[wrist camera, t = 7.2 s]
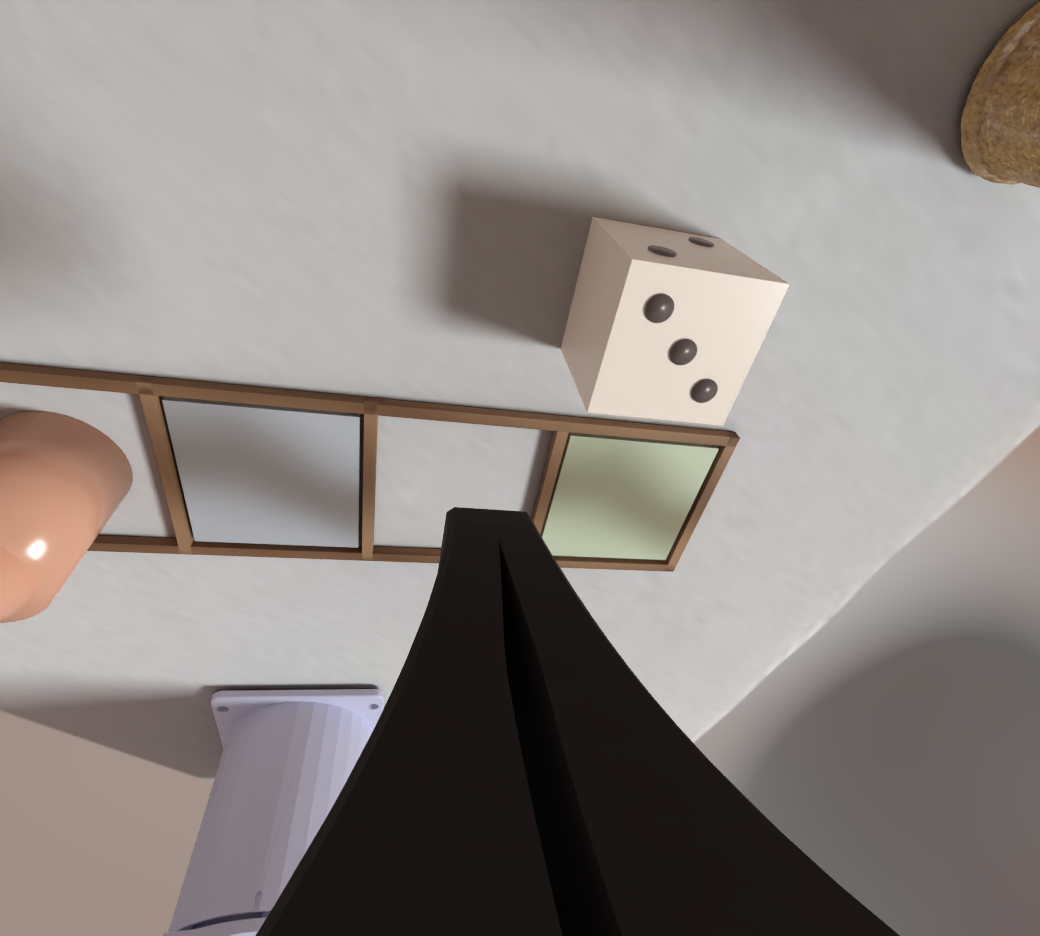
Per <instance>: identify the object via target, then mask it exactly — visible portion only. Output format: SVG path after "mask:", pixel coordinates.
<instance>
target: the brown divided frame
mask: <svg viewBox="0 0 1040 936" xmlns="http://www.w3.org/2000/svg"><path fill="white" fill-rule="evenodd" d="M0 382H8V383H19V384H30V385H42V386H53V387H64V388H76V389H87V390H98V391H110V392H121V393H132V394H139V396H140V400H141V404H142V408H143V411H144V415H145V419H146V423H147V427H148V431H149V435H150V438H151V442H152V446H153V450H154V454H155V458H156V462H157V465H158V469H159V473H160V477H161V481H162V485H163V489H164V492H165V496H166V500H167V504H168V508H169V512H170V516H171V519H172V523H173V527H174V531H175V535H176V538H155V537H130V536H106V535H98V536H97V537H96V539H95V540H94V541H93V543H92V544H91V546H90V547H89V549H88V550H87V551H111V552H139V553H167V554H195V555H223V556H251V557H279V558H307V559H336V560H364V561H392V562H420V563H439V561H440V554H441V549H424V548H400V547H375V546H373V543H374V513H375V483H376V452H377V422H378V415H381V416H392V417H403V418H414V419H426V420H437V421H448V422H460V423H471V424H482V425H493V426H505V427H516V428H527V429H539V430H550V431H554V434H553V437H552V441H551V445H550V449H549V453H548V457H547V461H546V465H545V468H544V472H543V476H542V480H541V484H540V488H539V492H538V495H537V499H536V503H535V507H534V511H533V515H532V521H533V522H534V524H535V526H536V528H537V529H538V531H539V533H540V534H541V537H542V538H543V540H544V542H545V544H546V545H547V547H548V549H549V550H550V552H551V554H552V555H553V557H554V559H555V560H556V562H557V564H558V565H559V567H560V568H588V569H617V570H645V571H674V569H675V567H676V565H677V563H678V561H679V559H680V557H681V555H682V553H683V551H684V549H685V547H686V545H687V543H688V541H689V539H690V537H691V535H692V533H693V531H694V529H695V527H696V525H697V523H698V521H699V519H700V517H701V515H702V513H703V511H704V509H705V507H706V505H707V503H708V501H709V499H710V497H711V495H712V493H713V491H714V489H715V487H716V485H717V483H718V481H719V479H720V477H721V475H722V473H723V471H724V469H725V467H726V465H727V463H728V461H729V459H730V457H731V455H732V453H733V451H734V449H735V447H736V445H737V443H738V441H739V439H740V437H739V436H738V435H737V434H736V432H729V431H718V430H708V429H697V428H687V427H676V426H666V425H655V424H644V423H634V422H623V421H613V420H602V419H592V418H581V417H571V416H560V415H549V414H539V413H528V412H518V411H507V410H497V409H486V408H476V407H465V406H454V405H444V404H433V403H423V402H412V401H402V400H391V399H381V398H370V397H360V396H349V395H338V394H328V393H317V392H307V391H296V390H286V389H275V388H265V387H254V386H243V385H233V384H222V383H212V382H201V381H191V380H180V379H170V378H159V377H148V376H138V375H127V374H117V373H106V372H96V371H85V370H75V369H64V368H53V367H43V366H32V365H22V364H11V363H1V362H0ZM161 396H165V397H164V398H163V400H162V399H161ZM162 402H163V403H162ZM163 406H164V407H163ZM164 410H165V411H164ZM361 414H364V454H363V517H362V546H359V510H360V423H361ZM165 415H166V416H165ZM166 419H167V420H166ZM167 423H168V424H167ZM168 427H169V429H168ZM169 432H170V433H169ZM568 433H569V434H568ZM170 436H171V437H170ZM567 437H568V438H567ZM171 440H172V441H171ZM566 440H567V441H566ZM565 444H566V445H565ZM172 445H173V446H172ZM717 445H719V446H717ZM173 449H174V450H173ZM563 451H564V452H563ZM174 453H175V454H174ZM562 455H563V456H562ZM175 457H176V459H175ZM561 458H562V459H561ZM176 462H177V463H176ZM560 462H561V463H560ZM559 465H560V466H559ZM177 466H178V467H177ZM558 469H559V470H558ZM178 470H179V472H178ZM557 473H558V474H557ZM179 475H180V476H179ZM556 476H557V477H556ZM180 479H181V480H180ZM555 480H556V481H555ZM181 483H182V484H181ZM554 483H555V484H554ZM553 487H554V488H553ZM182 488H183V489H182ZM552 491H553V492H552ZM183 492H184V493H183ZM551 494H552V495H551ZM184 496H185V497H184ZM550 498H551V499H550ZM185 500H186V502H185ZM549 501H550V502H549ZM186 505H187V506H186ZM548 505H549V506H548ZM187 509H188V510H187ZM546 512H547V513H546ZM188 513H189V514H188ZM545 516H546V517H545ZM189 518H190V519H189ZM544 519H545V520H544ZM190 522H191V523H190ZM543 523H544V524H543ZM191 526H192V527H191ZM541 530H542V531H541ZM192 531H193V532H192ZM193 535H194V536H193Z"/></svg>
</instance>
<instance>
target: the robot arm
mask: <svg viewBox="0 0 1040 936" xmlns="http://www.w3.org/2000/svg"><path fill="white" fill-rule="evenodd" d="M210 703H211V707H212V711H213V714H214V718H215V721H216V725H217V729H218V732H219V736H220V740H221V743H222V747H223V754H222V757H221V760H220V763H219V767H218V770H217V773H216V777H215V780H214V783H213V787H212V790H211V793H210V796H209V800H208V803H207V806H206V809H205V813H204V816H203V819H202V823H201V826H200V829H199V832H198V836H197V839H196V842H195V846H194V849H193V852H192V855H191V859H190V862H189V865H188V869H187V872H186V875H185V879H184V882H183V885H182V888H181V892H180V895H179V898H178V902H177V905H176V908H175V911H174V915H173V918H172V921H171V924H170V928H169V931H168V932H166V933H164V935H163V936H899V935H898V934H897V933H896V932H895V931H894V930H892V929H891V928H890V927H889V926H887V925H886V924H885V923H884V922H883V921H882V920H880V919H879V918H878V917H877V916H876V915H874V914H873V913H872V912H871V911H870V910H868V909H867V908H866V907H865V906H864V905H862V904H861V903H860V902H859V901H858V900H856V899H855V898H854V897H853V896H852V895H850V894H849V893H848V892H847V891H846V890H845V889H843V888H842V887H841V886H840V885H839V884H838V883H837V882H835V881H834V880H833V879H832V878H831V877H830V876H829V875H828V874H826V873H825V872H824V871H823V870H822V869H821V868H820V867H819V866H818V865H817V864H816V863H814V862H813V861H812V860H811V859H810V858H809V857H808V856H807V855H806V854H805V853H803V852H802V851H801V850H800V849H799V848H798V847H797V846H796V845H795V844H794V843H792V842H791V841H790V840H789V839H788V838H787V837H786V836H785V835H784V834H783V833H782V832H780V831H779V830H778V829H777V828H776V827H775V826H774V825H773V824H772V823H771V822H770V821H769V820H768V819H767V818H766V817H765V816H764V815H763V814H762V813H761V812H760V811H759V810H758V809H757V808H756V807H755V806H754V805H753V804H752V803H751V802H750V801H749V800H748V799H747V798H746V797H745V796H744V795H743V794H742V793H741V792H740V791H739V790H738V789H737V788H736V787H735V786H734V785H733V784H732V783H731V782H730V781H729V780H728V779H727V778H726V777H725V776H724V775H723V774H722V773H721V772H720V771H719V770H718V769H717V768H716V767H715V766H714V765H713V764H712V763H711V762H710V761H709V760H708V759H707V758H706V756H704V754H703V753H702V752H701V751H700V750H699V749H698V748H697V747H696V746H695V745H694V743H693V742H692V741H691V740H690V739H689V738H688V737H687V736H686V735H685V733H684V732H683V731H682V730H681V729H680V728H679V727H678V726H677V725H676V724H675V722H674V721H673V720H672V719H671V718H670V717H669V715H668V714H667V713H666V712H665V711H664V710H663V708H662V707H661V706H660V705H659V704H658V703H657V701H656V700H655V699H654V698H653V697H652V696H651V694H650V693H649V692H648V691H647V689H646V688H645V687H644V686H643V684H642V683H641V682H640V681H639V679H638V678H637V677H636V676H635V674H634V673H633V672H632V671H631V669H630V668H629V667H628V665H627V664H626V663H625V662H624V660H623V659H622V658H621V656H620V655H619V654H618V652H617V651H616V650H615V648H614V647H613V646H612V644H611V643H610V642H609V640H608V639H607V637H606V636H605V635H604V633H603V632H602V630H601V629H600V628H599V626H598V625H597V623H596V622H595V621H594V619H593V618H592V616H591V615H590V613H589V612H588V610H587V609H586V607H585V606H584V604H583V603H582V601H581V600H580V598H579V597H578V595H577V594H576V592H575V591H574V589H573V588H572V586H571V585H570V583H569V581H568V580H567V578H566V577H565V575H564V573H563V572H562V570H561V569H560V567H559V565H558V564H557V562H556V560H555V559H554V557H553V555H552V554H551V552H550V550H549V549H548V547H547V545H546V544H545V542H544V540H543V538H542V537H541V535H540V533H539V531H538V529H537V528H536V526H535V524H534V522H533V521H532V519H531V517H530V516H529V515H528V514H527V512H521V511H505V510H489V509H473V508H457V507H454V508H453V509H451V510H449V511H448V512H447V514H446V521H445V527H444V534H443V541H442V548H441V554H440V561H439V568H438V574H437V577H436V580H435V584H434V587H433V590H432V593H431V596H430V599H429V602H428V606H427V608H426V611H425V614H424V617H423V619H422V622H421V624H420V627H419V629H418V632H417V634H416V637H415V639H414V642H413V644H412V647H411V649H410V652H409V654H408V657H407V659H406V661H405V664H404V666H403V668H402V671H401V673H400V675H399V677H398V679H397V682H396V684H395V686H394V688H393V690H392V693H391V695H390V697H389V699H388V701H387V703H386V705H385V707H384V692H382V691H381V690H379V689H331V690H239V691H218V692H216V693H214V694H213V695H212V698H211V702H210Z"/></svg>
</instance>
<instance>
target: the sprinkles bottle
mask: <svg viewBox="0 0 1040 936" xmlns="http://www.w3.org/2000/svg"><path fill="white" fill-rule="evenodd" d="M961 139H962V140H961V147H962V152H963V155H964V159H965V161H966V163H967V165H968V166H969V167H970V169H971V170H972V172H973V174H976V175H978V176H980V177H982V178H983V179H986V180H988V181H991V182H995V183H1003V184H1016V183H1024V184H1027V185H1031V186H1035V187H1039V188H1040V2H1038V3H1037V4H1036V5H1034V6H1033V7H1032V8H1031V9H1029V10H1028V11H1027V12H1026V13H1025V14H1024V15H1023V16H1022V17H1021V18H1020V20H1018V21H1017V22H1016V23H1014V24H1013V25H1012V26H1011V27H1010V28H1009V29H1008V30H1007V31H1006V32H1005V33H1004V35H1003V36H1002V37H1001V39H1000V40H999V42H998V43H997V45H996V46H995V48H994V49H993V51H992V52H991V53H990V55H989V56H988V57H987V59H986V60H985V62H984V63H983V65H982V67H981V68H980V70H979V72H978V74H977V76H976V78H975V80H974V83H973V85H972V88H971V90H970V93H969V95H968V97H967V102H966V105H965V108H964V111H963V114H962V118H961Z"/></svg>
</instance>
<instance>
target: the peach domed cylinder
mask: <svg viewBox="0 0 1040 936" xmlns="http://www.w3.org/2000/svg"><path fill="white" fill-rule="evenodd" d="M132 480H133V476H132V469H131V466H130V463H129V461H128V459H127V457H126V456H125V454H124V453H123V451H122V450H121V449H120V448H119V447H118V446H117V445H116V443H115V442H113V441H112V440H111V439H110V438H109V437H108V436H106V435H105V434H103V433H102V432H101V431H99V430H97V429H96V428H94V427H92V426H91V425H89V424H86V423H84V422H82V421H80V420H77V419H75V418H72V417H69V416H65V415H62V414H57V413H53V412H45V411H25V412H19V413H14V414H11V415H8V416H6V417H4V418H2V419H1V420H0V623H5V622H14V621H19V620H23V619H27V618H30V617H32V616H35V615H37V614H39V613H40V612H42V611H43V610H45V609H46V608H47V607H48V606H49V604H50V603H51V602H52V600H53V599H54V597H55V596H56V594H57V593H58V592H59V590H60V589H61V587H62V586H63V584H64V583H65V582H66V580H67V579H68V577H69V576H70V574H71V573H72V572H73V570H74V569H75V567H76V566H77V564H78V563H79V562H80V560H81V559H82V557H83V556H84V554H85V553H86V552H87V550H88V549H89V547H90V546H91V544H92V543H93V541H94V540H95V539H96V537H97V536H98V534H99V533H100V531H101V530H102V529H103V527H104V526H105V524H106V523H107V521H108V520H109V519H110V517H111V516H112V514H113V513H114V511H115V510H116V509H117V507H118V506H119V504H120V503H121V501H122V500H123V499H124V497H125V496H126V494H127V493H128V491H129V490H130V487H131V485H132Z"/></svg>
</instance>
